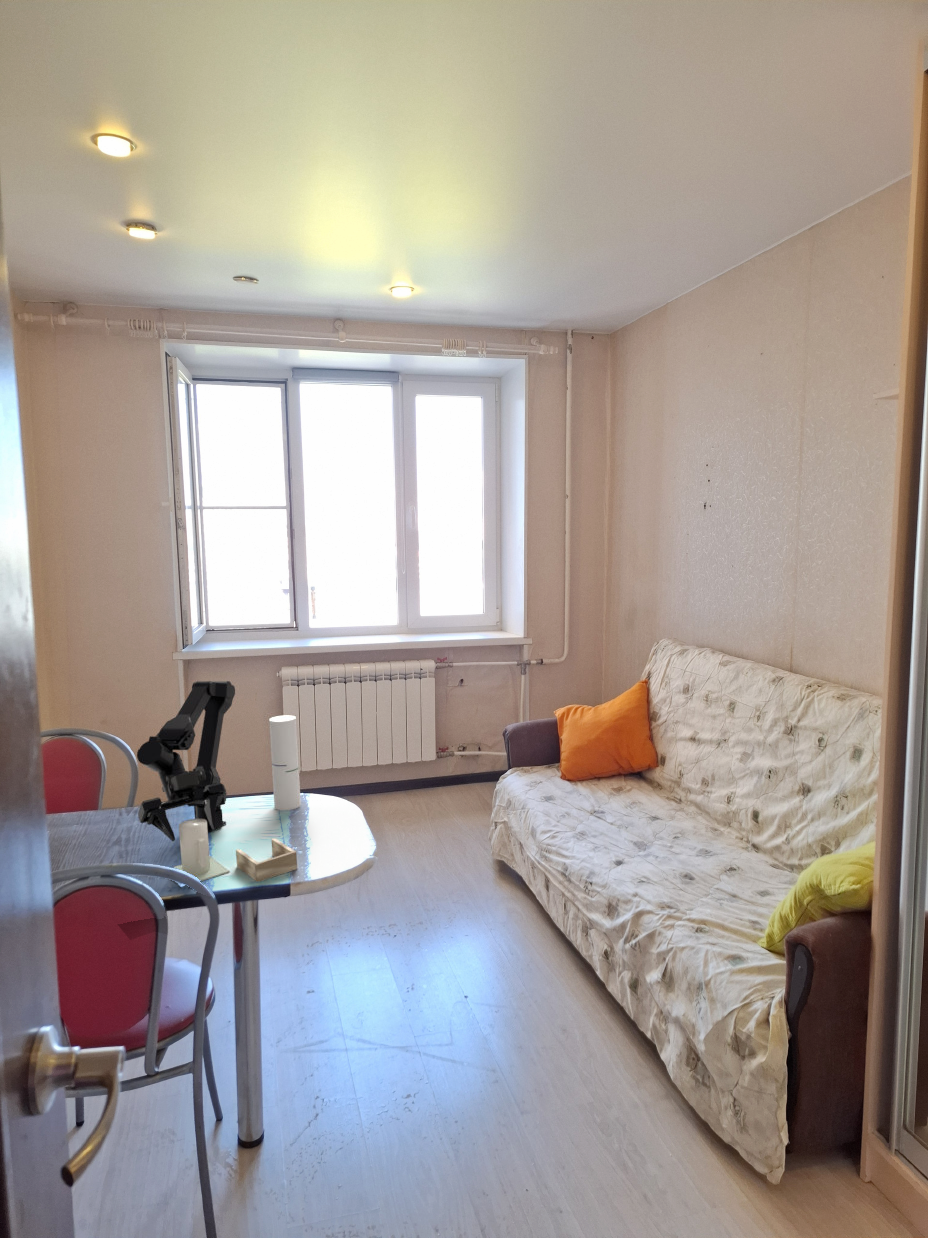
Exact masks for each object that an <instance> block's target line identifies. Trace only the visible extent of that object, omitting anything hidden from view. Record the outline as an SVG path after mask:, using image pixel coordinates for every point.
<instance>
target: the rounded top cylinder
mask: <svg viewBox="0 0 928 1238" xmlns="http://www.w3.org/2000/svg"><path fill="white" fill-rule="evenodd" d="M178 831H179V847H180V859H181V865H182V870H183V871H186V872H187V873H190V874H192V875H194V876H198V875H202V874H204V873H206V872H208V871H209V870H210V857H209V856H210V845H209V832H208V829H207V821H206V820H205V819H195V818H192V819H188V820H184V821H182V822H180V823H179V824H178Z"/></svg>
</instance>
